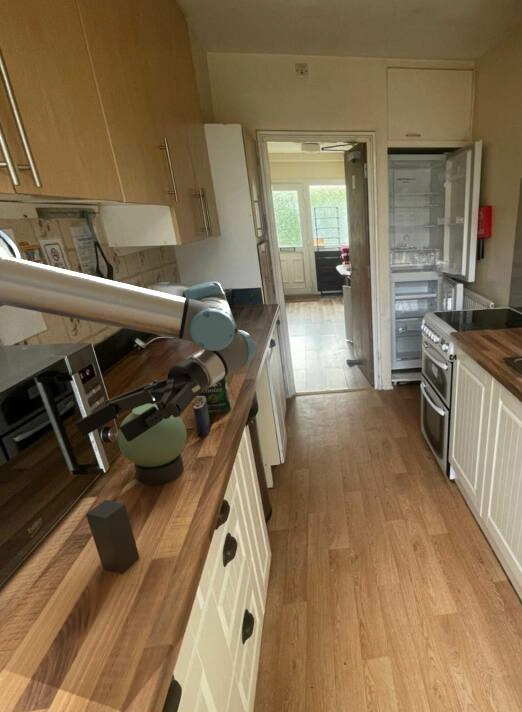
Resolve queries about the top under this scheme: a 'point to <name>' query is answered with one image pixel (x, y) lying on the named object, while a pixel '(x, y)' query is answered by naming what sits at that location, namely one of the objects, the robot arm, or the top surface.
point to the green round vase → (155, 449)
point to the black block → (113, 536)
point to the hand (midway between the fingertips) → (100, 432)
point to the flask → (202, 417)
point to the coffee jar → (218, 398)
